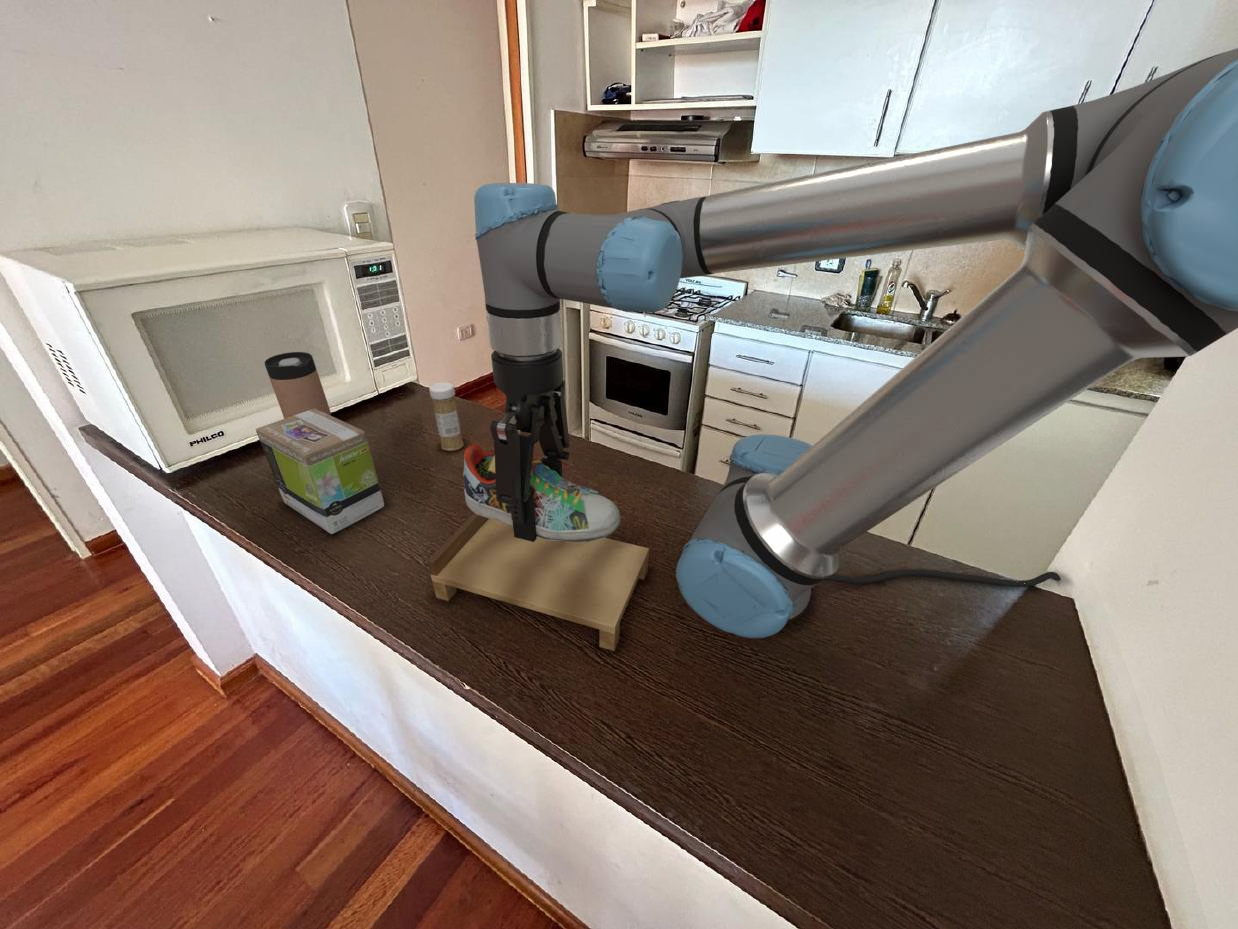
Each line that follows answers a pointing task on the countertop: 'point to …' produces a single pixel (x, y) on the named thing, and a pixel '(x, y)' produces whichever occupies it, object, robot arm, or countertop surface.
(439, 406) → the sprinkles bottle
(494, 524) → the platform
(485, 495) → the sneaker
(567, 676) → the countertop surface
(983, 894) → the countertop surface
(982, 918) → the countertop surface
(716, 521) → the robot arm
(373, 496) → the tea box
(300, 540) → the countertop surface
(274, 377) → the travel mug
